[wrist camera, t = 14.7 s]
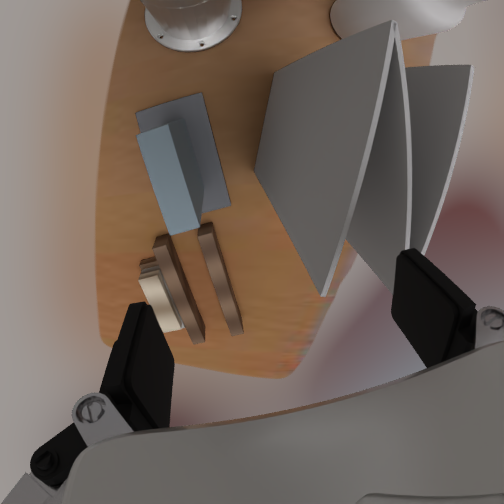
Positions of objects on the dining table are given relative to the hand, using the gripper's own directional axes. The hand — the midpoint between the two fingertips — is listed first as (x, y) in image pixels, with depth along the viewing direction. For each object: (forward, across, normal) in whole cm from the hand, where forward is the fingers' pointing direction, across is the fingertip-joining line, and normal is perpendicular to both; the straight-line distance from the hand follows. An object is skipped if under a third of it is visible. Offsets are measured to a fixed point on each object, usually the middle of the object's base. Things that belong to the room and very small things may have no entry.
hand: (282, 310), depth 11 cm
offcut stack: (+34, +14, +18) cm, 41 cm away
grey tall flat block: (+34, -7, -3) cm, 35 cm away
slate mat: (+34, +6, -1) cm, 34 cm away
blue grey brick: (+33, +6, -1) cm, 33 cm away
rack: (+34, +8, +18) cm, 39 cm away
